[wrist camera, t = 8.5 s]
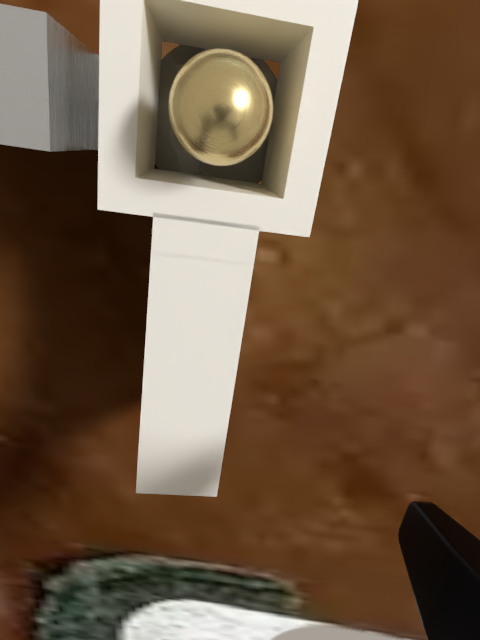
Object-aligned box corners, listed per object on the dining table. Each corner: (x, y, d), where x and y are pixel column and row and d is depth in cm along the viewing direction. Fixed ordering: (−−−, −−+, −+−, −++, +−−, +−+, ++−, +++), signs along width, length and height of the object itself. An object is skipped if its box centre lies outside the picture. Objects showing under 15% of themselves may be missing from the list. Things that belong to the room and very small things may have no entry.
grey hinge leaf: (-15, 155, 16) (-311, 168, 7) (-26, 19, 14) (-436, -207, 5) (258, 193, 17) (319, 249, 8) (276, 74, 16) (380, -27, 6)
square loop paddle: (134, 363, 20) (93, 491, 13) (151, 36, 15) (101, -70, 8) (236, 372, 21) (255, 498, 13) (286, 61, 16) (361, -14, 8)
